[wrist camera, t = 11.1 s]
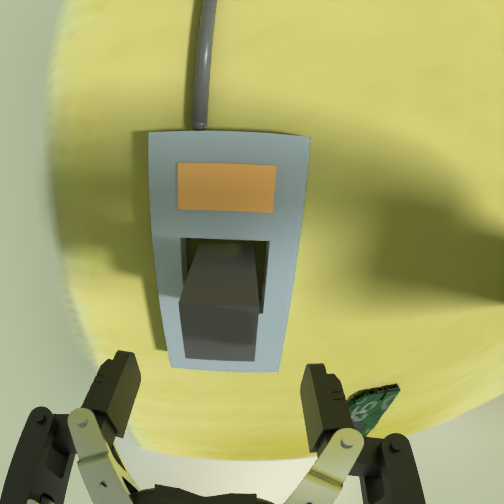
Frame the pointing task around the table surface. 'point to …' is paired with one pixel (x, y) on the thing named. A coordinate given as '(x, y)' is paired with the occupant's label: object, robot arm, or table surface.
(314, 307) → the table surface
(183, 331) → the block
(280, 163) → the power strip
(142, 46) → the table surface
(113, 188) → the table surface
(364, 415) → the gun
